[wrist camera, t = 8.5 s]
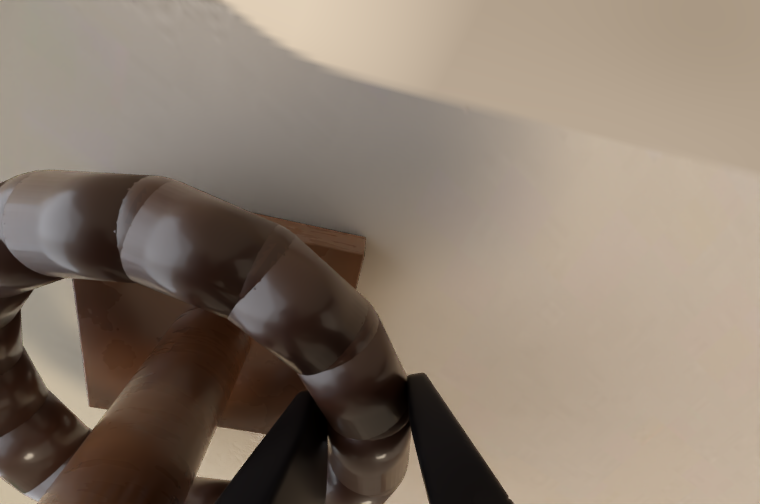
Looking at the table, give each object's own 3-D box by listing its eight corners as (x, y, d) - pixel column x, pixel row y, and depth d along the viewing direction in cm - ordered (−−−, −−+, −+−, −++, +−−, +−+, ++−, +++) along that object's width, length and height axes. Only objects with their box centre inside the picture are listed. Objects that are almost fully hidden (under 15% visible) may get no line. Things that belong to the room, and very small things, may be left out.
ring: (276, 60, 7) (223, 71, 5) (467, 480, 12) (475, 559, 10) (-141, 253, 10) (-263, 301, 8) (153, 518, 15) (117, 582, 13)
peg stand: (90, 176, 11) (-303, 347, 5) (366, 236, 12) (352, 448, 6) (109, 381, 15) (-101, 638, 8) (321, 415, 16) (282, 672, 9)
